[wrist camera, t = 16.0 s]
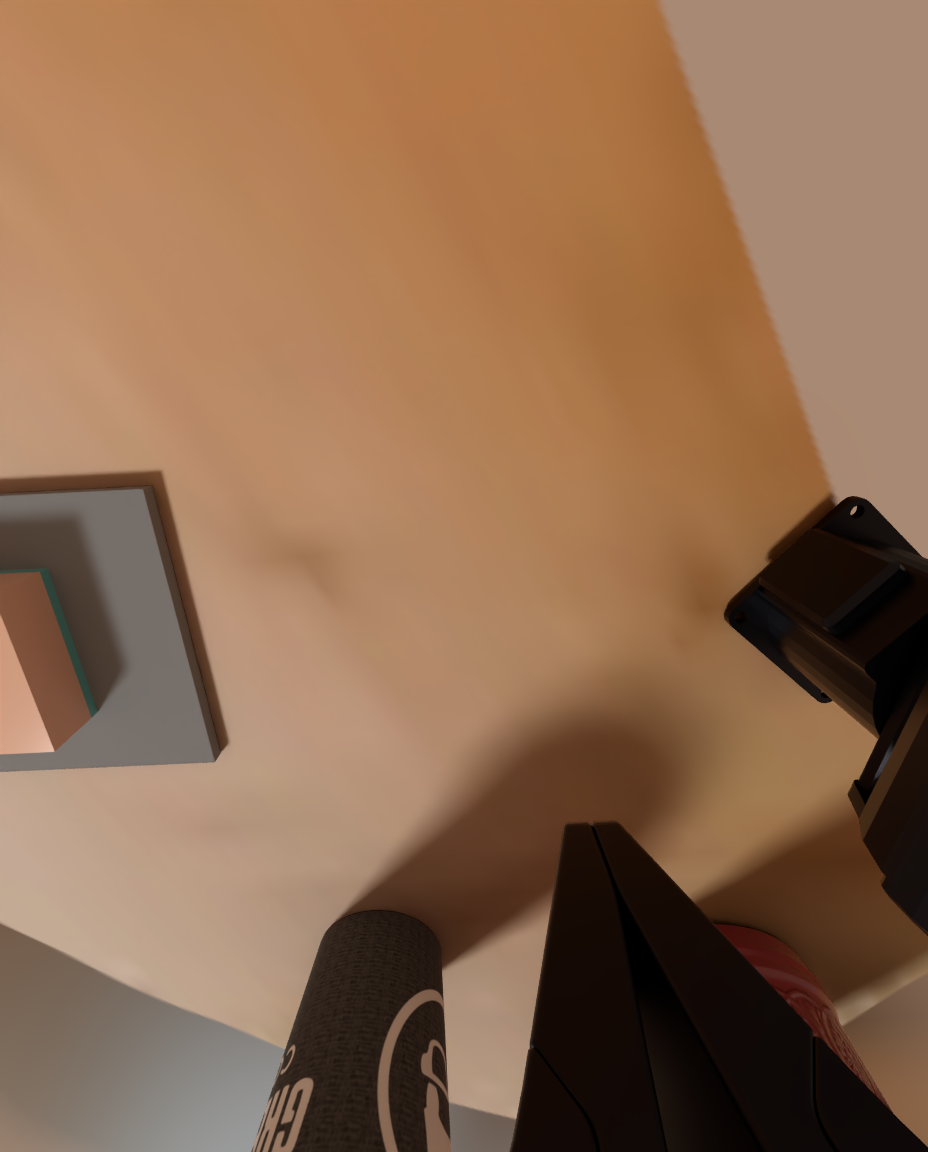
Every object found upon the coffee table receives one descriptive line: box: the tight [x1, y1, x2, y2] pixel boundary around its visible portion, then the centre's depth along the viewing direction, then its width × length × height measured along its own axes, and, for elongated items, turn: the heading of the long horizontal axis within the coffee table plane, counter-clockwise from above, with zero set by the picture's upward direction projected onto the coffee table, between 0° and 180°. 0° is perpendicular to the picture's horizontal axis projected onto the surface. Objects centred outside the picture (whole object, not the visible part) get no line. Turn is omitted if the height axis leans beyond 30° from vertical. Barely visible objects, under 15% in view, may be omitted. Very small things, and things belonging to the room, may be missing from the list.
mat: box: [0, 486, 221, 772], centre depth 21 cm, size 13×12×1 cm
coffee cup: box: [252, 911, 451, 1152], centre depth 21 cm, size 10×10×15 cm
